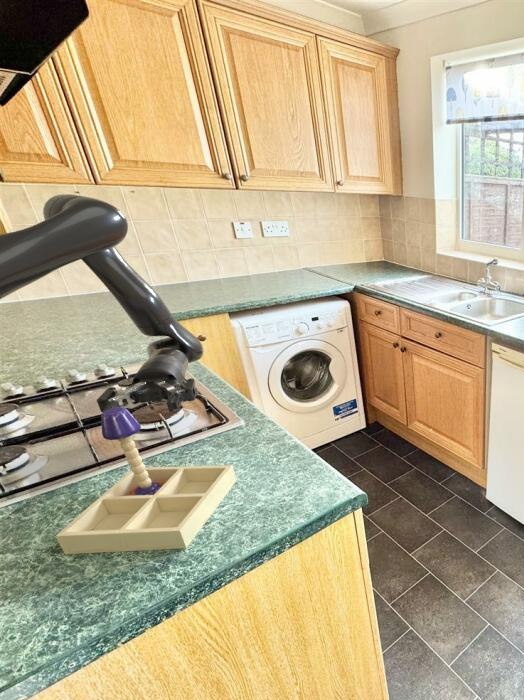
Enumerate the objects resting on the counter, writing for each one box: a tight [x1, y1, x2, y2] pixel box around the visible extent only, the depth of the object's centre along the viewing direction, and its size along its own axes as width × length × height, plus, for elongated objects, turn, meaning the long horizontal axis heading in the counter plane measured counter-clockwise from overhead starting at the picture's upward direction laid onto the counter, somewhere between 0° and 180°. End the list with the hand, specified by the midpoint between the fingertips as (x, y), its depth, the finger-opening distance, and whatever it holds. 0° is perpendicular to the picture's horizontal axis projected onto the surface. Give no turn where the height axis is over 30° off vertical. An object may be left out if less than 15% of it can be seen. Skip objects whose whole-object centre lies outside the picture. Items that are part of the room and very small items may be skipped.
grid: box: [55, 464, 238, 555], centre depth 69 cm, size 16×16×4 cm
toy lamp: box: [100, 407, 162, 496], centre depth 69 cm, size 5×5×17 cm
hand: (141, 411), depth 75 cm, fingers open, 8 cm apart
